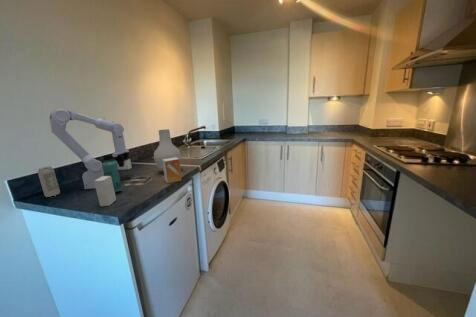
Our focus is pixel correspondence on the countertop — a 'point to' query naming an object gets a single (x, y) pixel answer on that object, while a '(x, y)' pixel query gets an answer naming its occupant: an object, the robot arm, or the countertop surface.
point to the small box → (172, 170)
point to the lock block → (125, 164)
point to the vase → (165, 148)
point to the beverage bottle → (112, 171)
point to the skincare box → (105, 190)
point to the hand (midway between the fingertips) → (123, 165)
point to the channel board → (138, 181)
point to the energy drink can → (48, 181)
